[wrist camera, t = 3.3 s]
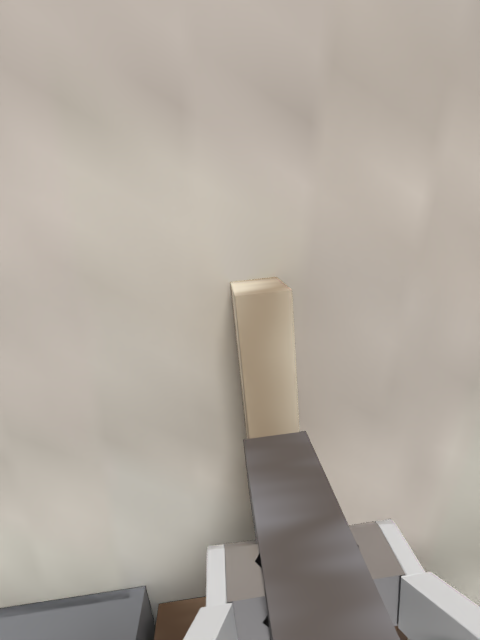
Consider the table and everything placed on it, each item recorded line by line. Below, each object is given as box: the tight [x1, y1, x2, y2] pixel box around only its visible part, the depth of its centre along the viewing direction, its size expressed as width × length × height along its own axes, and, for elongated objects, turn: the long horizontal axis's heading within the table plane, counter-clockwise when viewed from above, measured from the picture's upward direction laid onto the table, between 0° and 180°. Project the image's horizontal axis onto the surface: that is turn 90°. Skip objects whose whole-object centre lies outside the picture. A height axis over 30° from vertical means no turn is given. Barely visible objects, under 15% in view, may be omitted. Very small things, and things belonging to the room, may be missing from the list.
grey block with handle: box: [230, 277, 400, 640], centre depth 11 cm, size 2×14×11 cm, turn 6°
